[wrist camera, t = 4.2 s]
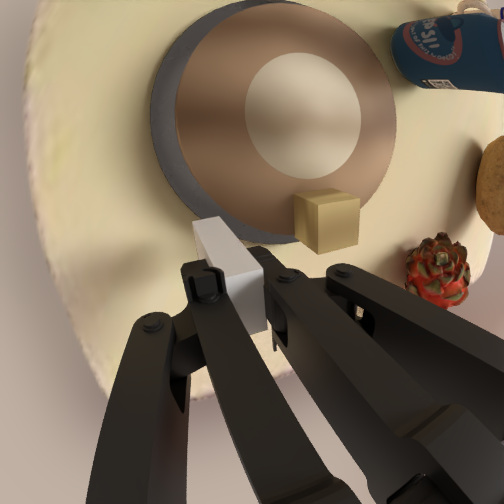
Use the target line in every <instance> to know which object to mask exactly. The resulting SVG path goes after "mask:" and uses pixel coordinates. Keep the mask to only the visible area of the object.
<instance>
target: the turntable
mask: <svg viewBox="0 0 504 504" xmlns="http://www.w3.org/2000/svg"><path fill="white" fill-rule="evenodd" d="M174 112H175V129H176V134H177V139H178V144H179V146H180V149H181V152H182V155H183V158H184V160H185V162H186V164H187V166H188V168H189V170H190V172H191V174H192V175H193V176H194V178H195V179H196V181H197V182H198V184H199V185H200V186H201V187H202V188H203V190H204V191H205V192H206V193H207V194H208V195H209V196H210V197H211V198H212V199H213V200H214V201H215V202H216V203H217V204H218V205H219V206H220V207H221V208H223V209H224V210H225V211H226V212H227V213H229V214H230V215H231V216H233V217H235V218H236V219H238V220H240V221H241V222H243V223H245V224H247V225H249V226H252V227H254V228H256V229H258V230H262V231H266V232H269V233H273V234H281V235H295V238H296V239H298V240H299V241H300V242H302V243H303V244H304V245H306V246H307V247H308V248H310V249H311V250H312V251H314V252H315V253H316V254H318V255H319V254H323V253H327V252H331V251H335V250H339V249H342V248H346V247H350V246H354V245H357V244H358V236H359V217H360V209H361V208H362V207H363V206H364V205H365V204H366V203H367V202H368V200H369V199H370V198H371V197H372V195H373V194H374V193H375V192H376V190H377V188H378V187H379V185H380V184H381V182H382V180H383V178H384V176H385V174H386V172H387V170H388V167H389V164H390V161H391V158H392V155H393V150H394V146H395V138H396V109H395V103H394V98H393V93H392V90H391V87H390V83H389V80H388V78H387V76H386V73H385V71H384V69H383V67H382V65H381V64H380V62H379V60H378V58H377V57H376V55H375V54H374V53H373V51H372V50H371V48H370V47H369V46H368V45H367V44H366V42H365V41H364V40H363V39H362V38H361V37H360V36H359V35H358V34H357V33H356V32H354V31H353V30H352V29H351V28H350V27H348V26H347V25H346V24H344V23H343V22H341V21H340V20H338V19H336V18H335V17H333V16H331V15H329V14H327V13H325V12H322V11H319V10H317V9H314V8H311V7H307V6H302V5H297V4H287V3H275V4H265V5H259V6H255V7H251V8H248V9H245V10H243V11H240V12H237V13H236V14H234V15H232V16H230V17H228V18H226V19H225V20H223V21H222V22H221V23H219V24H218V25H217V26H215V27H214V28H213V29H212V30H211V31H210V32H209V33H208V34H207V35H206V36H205V37H204V38H203V39H202V40H201V41H200V43H199V44H198V46H197V47H196V49H195V50H194V52H193V53H192V55H191V57H190V59H189V61H188V63H187V65H186V67H185V69H184V71H183V74H182V76H181V78H180V82H179V85H178V89H177V93H176V100H175V110H174Z"/></svg>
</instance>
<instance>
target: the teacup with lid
mask: <svg viewBox="0 0 504 504" xmlns="http://www.w3.org/2000/svg"><path fill="white" fill-rule="evenodd" d="M472 7H473V8H478V9H480V10H473V11H464V10H465V9H467V8H472ZM457 11H458V12H455V13H453V14H452V15H457V14H468V13H486V14H488V15H490V16H493V17H495V18H497V19H504V7H502V8H501V9H491V10H490V9H489V8H488V7H487V6H486V5H485V4H483V3H482V2H480V1H478V0H463V1H461V2H460V3H459V4H458V7H457Z"/></svg>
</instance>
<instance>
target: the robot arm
mask: <svg viewBox="0 0 504 504" xmlns="http://www.w3.org/2000/svg"><path fill="white" fill-rule="evenodd" d="M192 225H193V231H194V236H195V242H196V248H197V253H198V259H199V260H197V261H193V262H188V263H184V264H183V266H182V268H181V269H180V270H181V275H182V279H183V283H184V288H185V292H186V296H187V300H188V304H187V306H186V308H185V309H184V310H183V311H182V312H181V313H179V314H177V315H176V316H173V317H170V316H169V314H166V313H164V312H153V313H148V314H146V315H144V316H142V317H140V318H139V319H138V320H136V322H135V323H134V325H133V327H132V330H131V333H130V336H129V339H128V341H127V344H126V347H125V350H124V353H123V356H122V359H121V362H120V365H119V368H118V371H117V375H116V378H115V381H114V384H113V388H112V391H111V394H110V398H109V401H108V405H107V408H106V412H105V416H104V419H103V423H102V427H101V431H100V435H99V439H98V444H97V448H96V452H95V456H94V461H93V466H92V471H91V476H90V481H89V486H88V492H87V498H86V504H186V488H187V487H186V485H187V484H186V483H187V482H186V481H187V479H186V478H187V444H188V443H187V442H188V421H189V403H190V387H191V375H190V374H191V373H193V372H195V371H197V370H198V369H200V368H202V367H204V366H207V369H208V373H209V376H210V379H211V382H212V385H213V388H214V391H215V394H216V397H217V399H218V402H219V405H220V408H221V411H222V414H223V416H224V419H225V422H226V424H227V427H228V430H229V433H230V435H231V438H232V440H233V443H234V445H235V448H236V450H237V453H238V455H239V458H240V460H241V463H242V465H243V468H244V470H245V473H246V475H247V477H248V480H249V482H250V484H251V486H252V489H253V491H254V493H255V495H256V497H257V500H258V502H259V504H362V503H361V502H360V501H359V499H358V498H357V496H356V495H355V493H354V492H353V491H352V490H351V488H350V487H349V486H348V485H347V484H346V483H345V482H344V481H342V480H341V479H339V478H336V477H334V476H333V475H332V474H331V473H330V472H329V470H328V469H327V467H326V466H325V465H324V463H323V461H322V460H321V458H320V456H319V455H318V453H317V451H316V450H315V448H314V447H313V445H312V443H311V442H310V440H309V439H308V437H307V435H306V434H305V432H304V430H303V429H302V427H301V425H300V424H299V422H298V421H297V418H296V417H295V415H294V413H293V412H292V410H291V408H290V407H289V405H288V403H287V401H286V400H285V398H284V396H283V394H282V393H281V391H280V389H279V388H278V386H277V384H276V382H275V380H274V379H273V377H272V375H271V373H270V372H269V370H268V368H267V366H266V364H265V363H264V361H263V359H262V357H261V355H260V354H259V352H258V350H257V348H256V346H255V344H254V343H253V341H252V339H251V337H250V335H252V334H255V333H258V332H262V331H265V330H268V327H267V319H268V321H269V322H270V324H271V326H272V342H273V350H274V352H275V351H277V347H276V345H277V344H278V346H279V348H280V350H281V351H282V352H283V354H284V355H285V357H286V359H287V360H288V362H289V363H290V365H291V366H292V368H293V369H294V371H295V372H296V374H297V375H298V377H299V379H300V380H301V382H302V383H303V385H304V386H305V388H306V389H307V391H308V392H309V394H310V395H311V397H312V398H313V400H314V402H315V403H316V405H317V406H318V408H319V409H320V410H321V412H322V413H323V415H324V416H325V418H326V419H327V421H328V422H329V424H330V425H331V427H332V428H333V430H334V431H335V433H336V434H337V436H338V437H339V438H340V440H341V442H342V443H343V445H344V446H345V447H346V449H347V450H348V452H349V453H350V455H351V456H352V458H353V459H354V460H355V462H356V463H357V465H358V466H359V467H360V469H361V470H362V472H363V473H364V475H365V476H366V479H367V485H368V490H369V492H370V494H371V496H372V498H373V499H374V501H375V502H376V504H504V340H503V339H501V338H499V337H497V336H496V335H494V334H492V333H490V332H488V331H486V330H484V329H482V328H480V327H478V326H476V325H475V324H473V323H471V322H469V321H467V320H465V319H463V318H461V317H459V316H457V315H455V314H453V313H451V312H449V311H447V310H445V309H443V308H441V307H439V306H437V305H435V304H433V303H431V302H429V301H427V300H425V299H423V298H421V297H419V296H417V295H415V294H413V293H411V292H409V291H407V290H405V289H402V288H400V287H398V286H396V285H394V284H392V283H390V282H388V281H386V280H384V279H382V278H379V277H377V276H375V275H373V274H371V273H369V272H367V271H364V270H362V269H360V268H358V267H356V266H353V265H350V264H345V263H339V264H335V265H332V266H330V267H329V268H327V271H326V277H323V278H308V277H307V276H306V275H305V274H304V273H303V272H301V271H300V270H297V269H291V268H286V267H285V266H284V265H283V264H282V263H281V262H280V261H279V260H278V259H276V257H275V256H274V255H272V253H271V252H270V251H269V250H268V249H266V248H263V247H261V246H255V247H251V248H245V246H244V245H243V244H242V243H241V242H240V240H239V239H238V238H237V237H236V236H235V234H234V233H233V232H232V231H231V230H230V228H229V227H228V226H227V225H226V224H225V223H224V221H223V220H222V219H221V218H220V217H219V216H217V217H212V218H207V219H202V220H197V221H192ZM357 306H359V307H361V308H363V309H364V311H363V316H362V317H359V316H357V315H356V313H357ZM424 474H425V476H424Z"/></svg>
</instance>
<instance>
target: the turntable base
mask: <svg viewBox="0 0 504 504" xmlns="http://www.w3.org/2000/svg"><path fill="white" fill-rule="evenodd" d="M275 3H287V4H297V5H302V4H299V3H296V2H291V1H286V0H245V1H240V2H236V3H232V4H229V5H226V6H224V7H221V8H219V9H216V10H214V11H212V12H210V13H209V14H207V15H205V16H204V17H202V18H200V19H199V20H198V21H196V22H195V23H194V24H193V25H191V26H190V27H189V28H188V29H186V31H185V32H184V33H183V34H182V35H181V36H180V37H179V38H178V39H177V40H176V41H175V43H174V44H173V46H172V47H171V49H170V50H169V52H168V53H167V55H166V56H165V58H164V60H163V62H162V64H161V67H160V69H159V71H158V73H157V76H156V80H155V84H154V87H153V91H152V98H151V107H150V123H151V134H152V139H153V144H154V149H155V152H156V155H157V158H158V160H159V163H160V166H161V169H162V170H163V172H164V174H165V176H166V178H167V180H168V182H169V183H170V185H171V187H172V188H173V189H174V191H175V192H176V193H177V195H178V196H179V197H180V199H181V200H182V201H183V202H184V203H185V204H186V205H187V206H188V207H189V208H190V209H191V210H192V211H193V212H194V213H195V214H196V215H197V216H199V217H200V218H201V219H207V218H212V217H217V216H219V217H220V218H221V219H222V220H223V221H224V223H225V224H226V225H227V226H228V227H229V228H230V230H231V231H232V232H233V233H234V234H235V236H236V237H237V238H238V239H242V240H246V241H250V242H254V243H263V244H286V243H292V242H299V240H298V239H296V238H295V235H281V234H273V233H269V232H266V231H262V230H258V229H256V228H254V227H252V226H249V225H247V224H245V223H243V222H241V221H240V220H238V219H236V218H235V217H233V216H231V215H230V214H229V213H227V212H226V211H225V210H224V209H223V208H221V207H220V206H219V205H218V204H217V203H216V202H215V201H214V200H213V199H212V198H211V197H210V196H209V195H208V194H207V193H206V192H205V191H204V190H203V188H202V187H201V186H200V185H199V184H198V182H197V181H196V179H195V178H194V176H193V175H192V174H191V172H190V170H189V168H188V166H187V164H186V162H185V160H184V158H183V155H182V152H181V149H180V146H179V144H178V139H177V134H176V129H175V112H174V110H175V100H176V93H177V89H178V85H179V82H180V78H181V76H182V74H183V71H184V69H185V67H186V65H187V63H188V61H189V59H190V57H191V55H192V53H193V52H194V50H195V49H196V47H197V46H198V44H199V43H200V41H201V40H202V39H203V38H204V37H205V36H206V35H207V34H208V33H209V32H210V31H211V30H212V29H213V28H214V27H215V26H217V25H218V24H219V23H221V22H222V21H223V20H225V19H226V18H228V17H230V16H232V15H234V14H236V13H237V12H240V11H243V10H245V9H248V8H251V7H255V6H259V5H265V4H275ZM302 6H305V5H302ZM307 7H308V6H307Z"/></svg>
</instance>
